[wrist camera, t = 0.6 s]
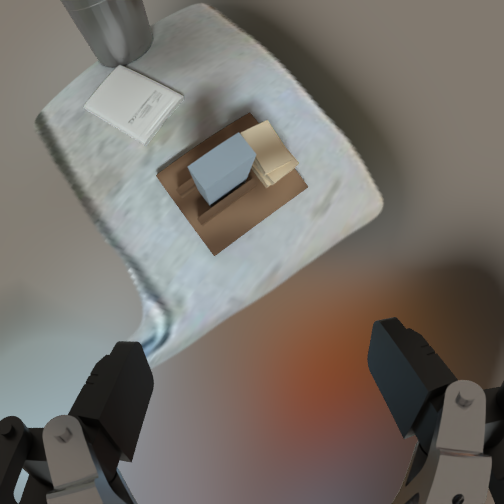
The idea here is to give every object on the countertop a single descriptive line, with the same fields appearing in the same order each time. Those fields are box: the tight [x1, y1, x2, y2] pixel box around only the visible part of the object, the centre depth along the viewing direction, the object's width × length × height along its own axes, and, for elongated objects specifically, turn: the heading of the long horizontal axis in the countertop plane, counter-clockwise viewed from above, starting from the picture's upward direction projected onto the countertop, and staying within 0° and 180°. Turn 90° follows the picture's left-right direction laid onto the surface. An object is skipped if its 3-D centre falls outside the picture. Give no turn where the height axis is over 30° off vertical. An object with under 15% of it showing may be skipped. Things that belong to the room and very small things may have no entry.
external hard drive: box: [84, 65, 184, 146], centre depth 31 cm, size 2×8×12 cm
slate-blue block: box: [188, 132, 257, 207], centre depth 27 cm, size 2×5×11 cm, turn 127°
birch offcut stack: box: [240, 120, 299, 188], centre depth 30 cm, size 7×4×4 cm, turn 36°
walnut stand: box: [156, 113, 308, 256], centre depth 32 cm, size 12×14×4 cm
